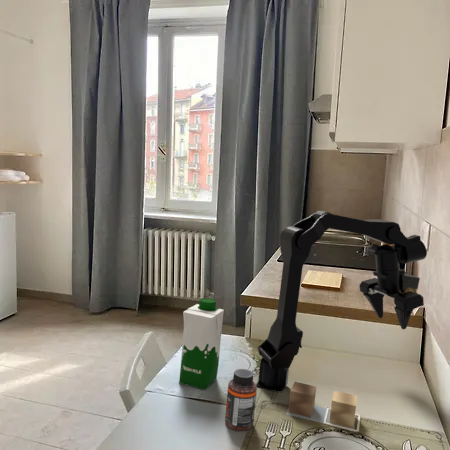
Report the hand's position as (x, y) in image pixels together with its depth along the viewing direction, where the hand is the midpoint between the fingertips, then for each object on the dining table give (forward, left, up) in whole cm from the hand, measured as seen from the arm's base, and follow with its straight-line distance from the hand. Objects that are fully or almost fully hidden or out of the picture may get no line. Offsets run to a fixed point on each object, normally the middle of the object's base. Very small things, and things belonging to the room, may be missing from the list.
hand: (392, 323), depth 123 cm
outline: (-9, -29, -15) cm, 34 cm away
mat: (-13, -29, -15) cm, 35 cm away
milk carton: (-44, -27, -16) cm, 54 cm away
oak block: (-9, -29, -15) cm, 34 cm away
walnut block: (-18, -29, -15) cm, 37 cm away
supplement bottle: (-29, -41, -16) cm, 52 cm away
